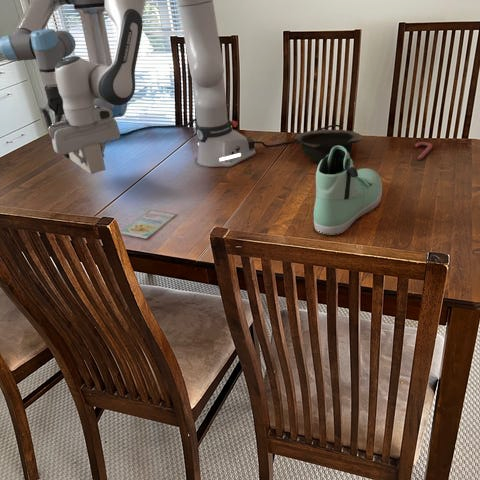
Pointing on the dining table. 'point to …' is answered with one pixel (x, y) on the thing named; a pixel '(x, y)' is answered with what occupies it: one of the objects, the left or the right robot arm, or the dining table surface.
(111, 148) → the dining table surface
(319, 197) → the sneaker
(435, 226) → the dining table surface
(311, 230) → the dining table surface
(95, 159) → the bar
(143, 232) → the baking ingredient package
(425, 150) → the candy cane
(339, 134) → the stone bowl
